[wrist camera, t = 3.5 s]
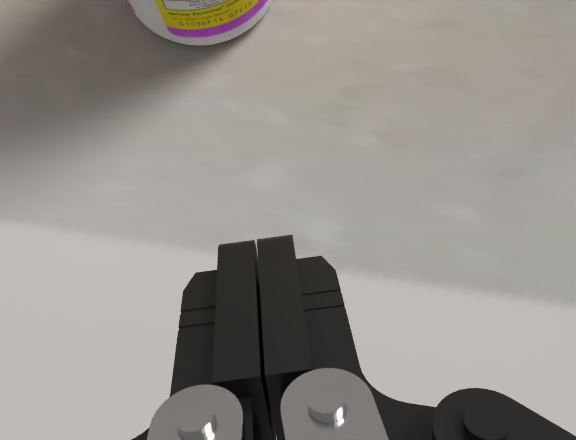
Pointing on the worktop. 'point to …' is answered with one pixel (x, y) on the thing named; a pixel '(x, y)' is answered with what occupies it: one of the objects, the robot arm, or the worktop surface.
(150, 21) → the supplement bottle
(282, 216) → the worktop surface
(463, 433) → the robot arm
